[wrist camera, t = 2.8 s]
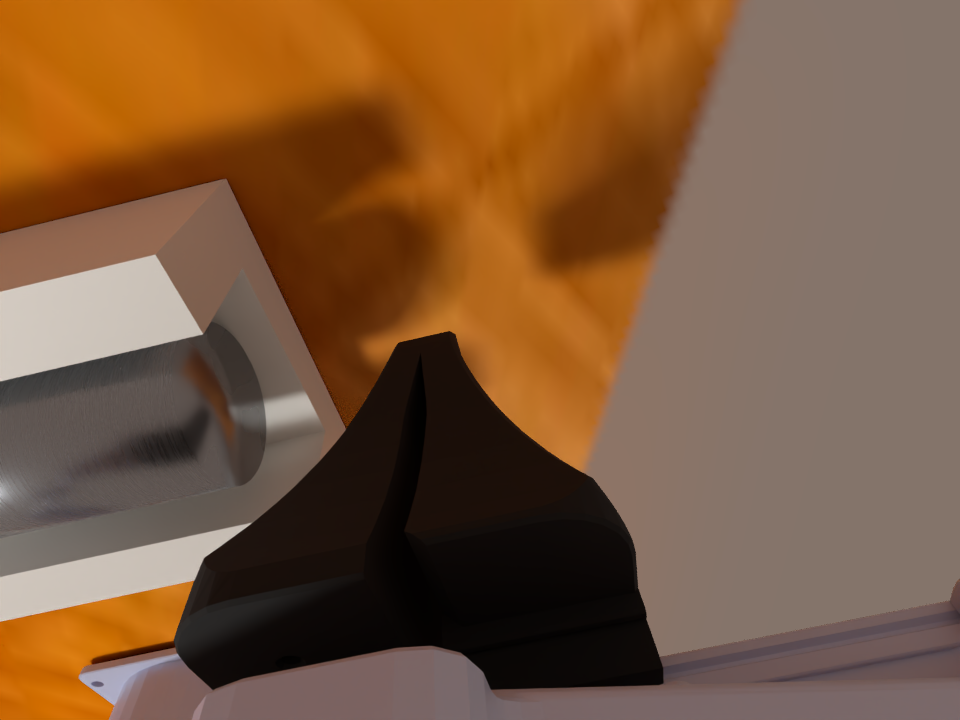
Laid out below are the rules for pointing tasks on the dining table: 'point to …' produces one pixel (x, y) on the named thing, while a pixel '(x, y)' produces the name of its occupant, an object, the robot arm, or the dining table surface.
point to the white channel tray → (139, 324)
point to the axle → (128, 432)
